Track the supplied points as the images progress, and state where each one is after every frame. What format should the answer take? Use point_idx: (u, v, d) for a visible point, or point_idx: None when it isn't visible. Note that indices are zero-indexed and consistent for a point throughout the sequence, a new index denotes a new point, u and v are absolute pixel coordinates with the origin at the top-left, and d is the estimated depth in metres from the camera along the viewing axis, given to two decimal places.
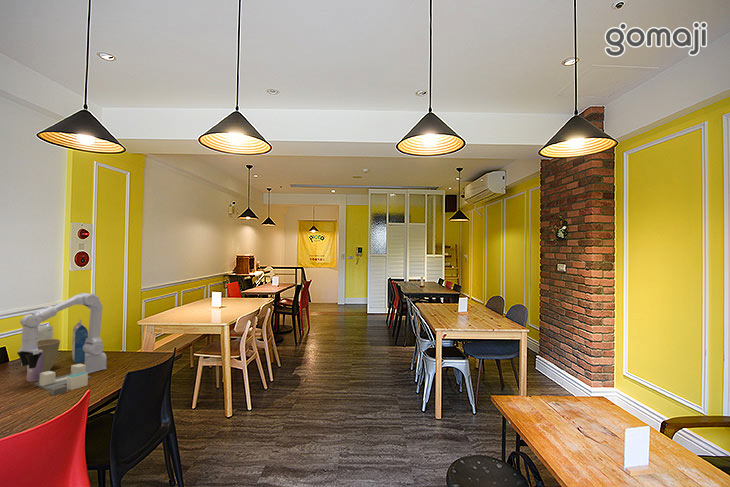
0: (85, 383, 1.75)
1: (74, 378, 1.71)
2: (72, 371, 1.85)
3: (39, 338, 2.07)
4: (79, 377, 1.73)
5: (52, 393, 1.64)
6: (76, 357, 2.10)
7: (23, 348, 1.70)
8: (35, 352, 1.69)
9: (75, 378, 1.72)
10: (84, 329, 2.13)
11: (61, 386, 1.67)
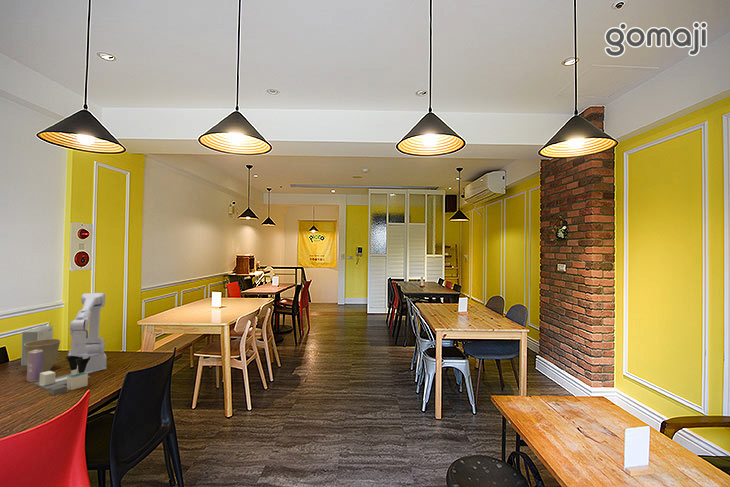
0: (85, 383, 1.75)
1: (74, 378, 1.71)
2: (72, 371, 1.85)
3: (39, 338, 2.07)
4: (79, 377, 1.73)
5: (52, 393, 1.64)
6: None
7: (73, 352, 1.72)
8: (85, 356, 1.71)
9: (75, 378, 1.72)
10: None
11: (61, 386, 1.67)
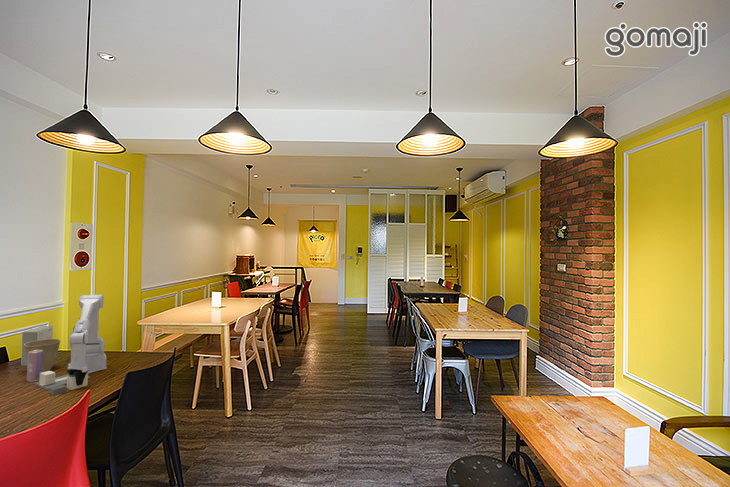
0: (85, 383, 1.75)
1: (74, 378, 1.71)
2: None
3: (39, 338, 2.07)
4: None
5: (52, 393, 1.64)
6: None
7: (72, 366, 1.71)
8: (84, 370, 1.71)
9: (75, 378, 1.72)
10: None
11: (61, 386, 1.67)
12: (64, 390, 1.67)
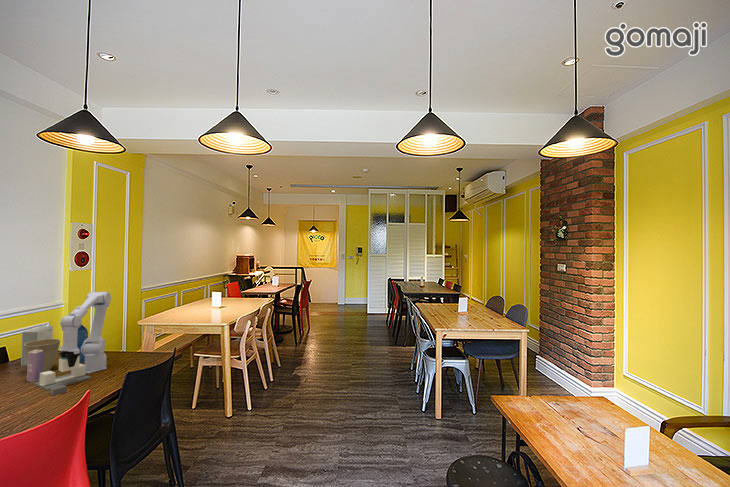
0: (77, 365, 1.80)
1: (66, 360, 1.75)
2: (72, 371, 1.85)
3: (39, 338, 2.07)
4: None
5: (52, 393, 1.64)
6: None
7: (64, 348, 1.76)
8: (76, 352, 1.75)
9: (67, 360, 1.76)
10: (84, 329, 2.13)
11: (61, 386, 1.67)
12: (64, 390, 1.67)
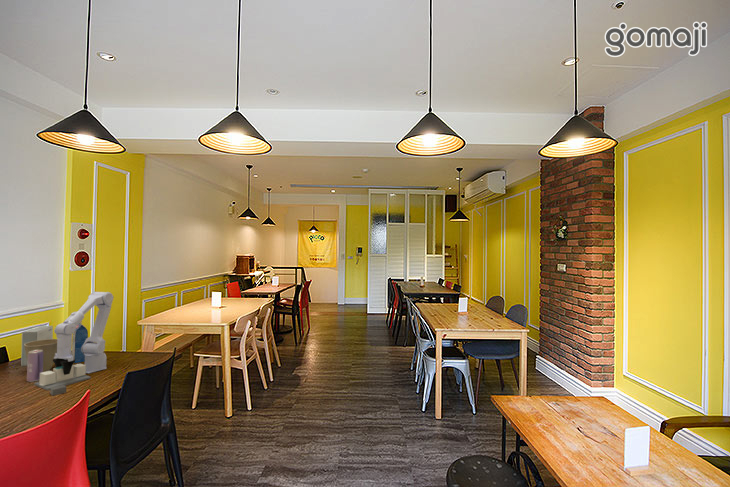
0: (71, 375, 1.82)
1: (60, 370, 1.78)
2: None
3: (39, 338, 2.07)
4: None
5: (51, 393, 1.64)
6: (76, 357, 2.10)
7: (58, 355, 1.78)
8: (70, 359, 1.77)
9: (61, 370, 1.78)
10: (84, 329, 2.13)
11: (61, 386, 1.67)
12: (64, 390, 1.67)
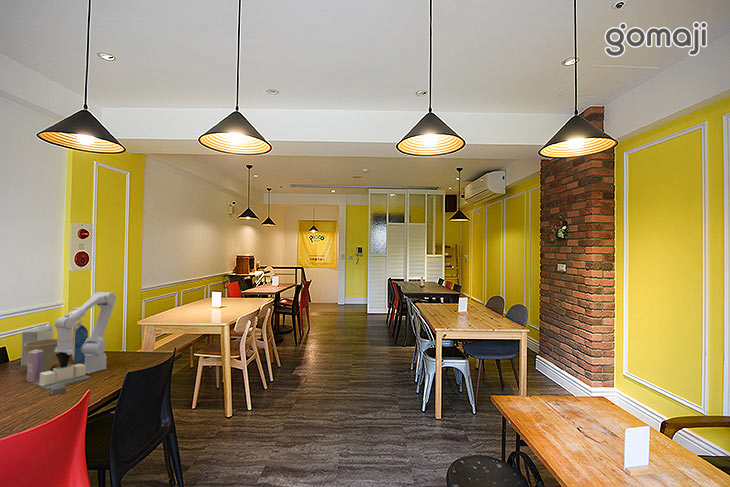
0: (71, 375, 1.82)
1: (60, 370, 1.78)
2: None
3: (39, 338, 2.07)
4: (65, 369, 1.80)
5: (51, 393, 1.64)
6: (76, 357, 2.10)
7: (59, 349, 1.78)
8: (70, 353, 1.77)
9: (61, 370, 1.78)
10: (84, 329, 2.13)
11: (61, 386, 1.67)
12: (63, 390, 1.66)
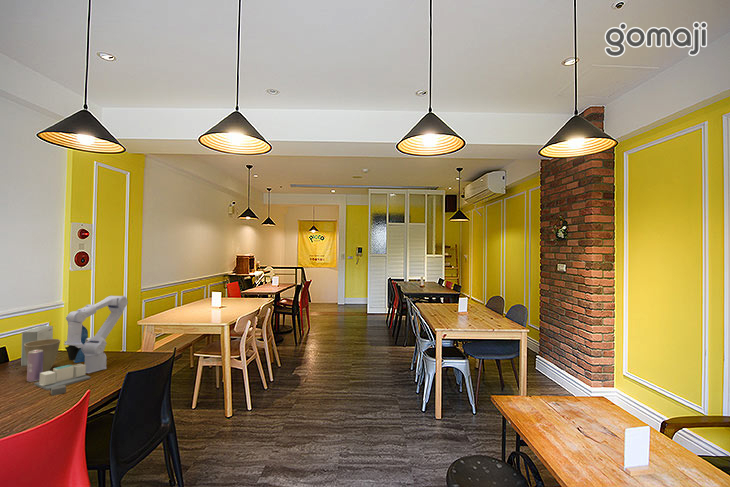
0: (71, 375, 1.82)
1: (60, 370, 1.78)
2: None
3: (39, 338, 2.07)
4: (65, 369, 1.80)
5: (51, 393, 1.64)
6: (76, 357, 2.10)
7: (68, 342, 1.84)
8: (80, 346, 1.83)
9: (61, 370, 1.78)
10: (84, 329, 2.13)
11: (61, 386, 1.67)
12: (63, 390, 1.66)
